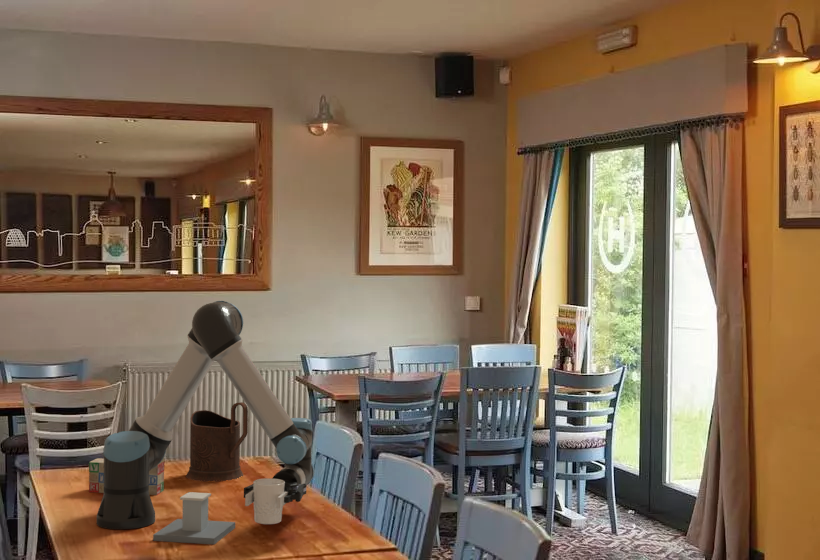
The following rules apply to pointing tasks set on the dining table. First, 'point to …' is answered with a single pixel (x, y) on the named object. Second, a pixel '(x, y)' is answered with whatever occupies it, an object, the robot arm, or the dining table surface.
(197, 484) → the dining table surface
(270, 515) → the white cup
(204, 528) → the narrow pillar
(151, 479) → the stack of blocks
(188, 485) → the dining table surface
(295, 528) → the dining table surface
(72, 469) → the dining table surface
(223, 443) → the cup holder
